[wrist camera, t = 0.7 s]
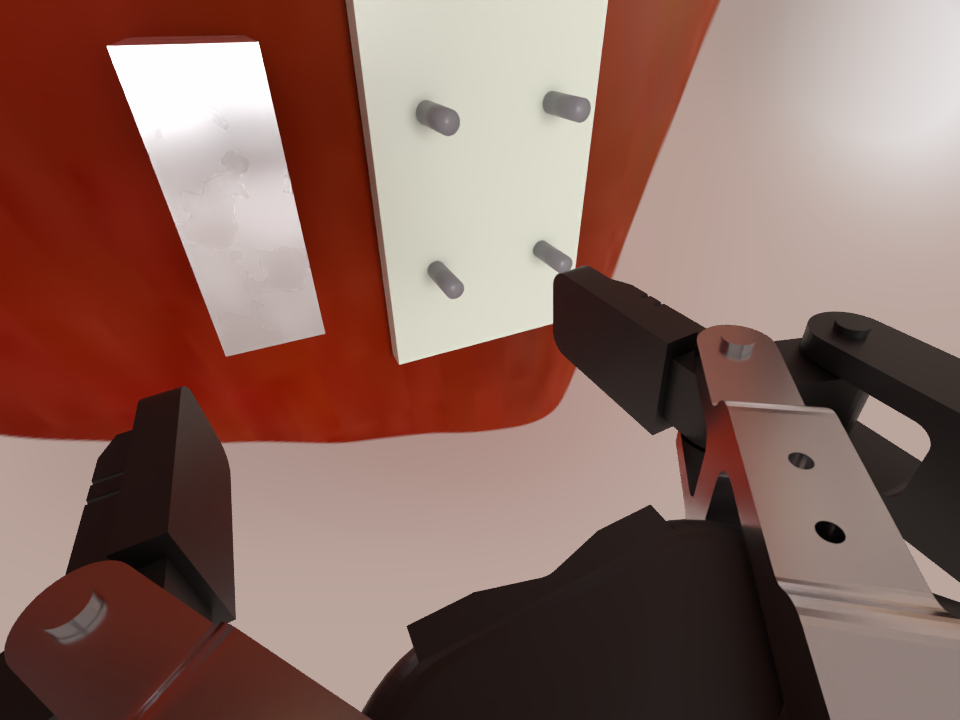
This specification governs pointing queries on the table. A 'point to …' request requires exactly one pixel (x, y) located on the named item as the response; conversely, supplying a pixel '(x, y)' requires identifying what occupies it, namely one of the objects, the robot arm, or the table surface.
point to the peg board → (475, 158)
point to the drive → (224, 181)
